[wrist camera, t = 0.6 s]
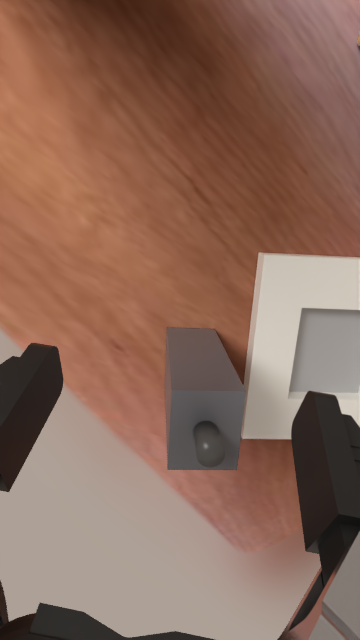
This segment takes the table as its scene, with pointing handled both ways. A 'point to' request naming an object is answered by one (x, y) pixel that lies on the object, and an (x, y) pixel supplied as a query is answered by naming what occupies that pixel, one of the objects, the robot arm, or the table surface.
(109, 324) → the table surface
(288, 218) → the table surface
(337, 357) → the socket plate
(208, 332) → the plug
